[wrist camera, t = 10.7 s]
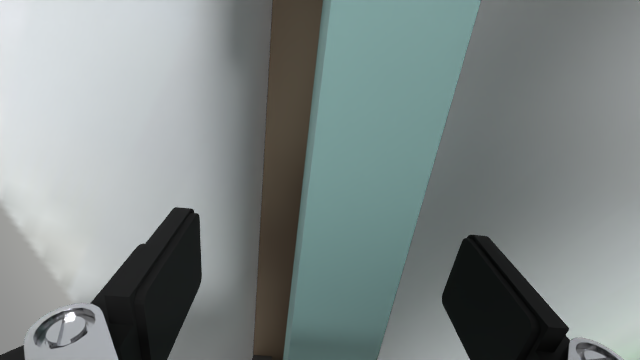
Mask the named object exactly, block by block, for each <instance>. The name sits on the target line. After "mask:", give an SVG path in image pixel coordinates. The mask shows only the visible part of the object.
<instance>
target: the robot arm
mask: <svg viewBox="0 0 640 360" xmlns="http://www.w3.org/2000/svg"><path fill="white" fill-rule="evenodd" d="M201 277H202V273H201V246H200V219H199V214H197V213H194V210H193V209H189V208H178V207H175V208H174V209H173V210H172V211H171V212H170V214H169V215H168V216H167V217H166V219H165V220H164V221H163V222H162V224H161V225H160V226H159V227H158V229H157V230H156V231H155V232H154V234H153V235H152V236H151V237H150V239H149V240H148V241H147V242H146V244H140V245H139V246H138V247H137V248H136V249H135V250H134V251H133V253H132V254H131V255H130V256H129V257H128V259H127V260H126V261H125V262H124V263H123V265H122V266H121V267H120V268H119V270H118V271H117V272H116V273H115V274H114V276H113V277H112V278H111V279H110V280H109V282H108V283H107V284H106V285H105V286H104V288H103V289H102V290H101V291H100V293H99V294H98V295H97V296H96V297H95V299H94V300H93V301H92V302H91V303H90V304H88V303H77V304H71V305H67V306H63V307H60V308H58V309H56V310H54V311H51V312H49V313H48V314H46V315H45V316H43V317H41V318H40V319H39V320H38V321H36V322H35V323H34V324H33V325H32V326H31V327H30V329H29V330H28V332H27V333H26V335H25V339H24V345H23V346H21V347H18V348H16V349H14V350H11V351H9V352H7V353H5V354H2V355H0V360H167V358H168V356H169V354H170V352H171V349H172V347H173V345H174V343H175V340H176V338H177V336H178V334H179V331H180V329H181V327H182V325H183V322H184V320H185V318H186V316H187V313H188V311H189V309H190V307H191V304H192V302H193V300H194V298H195V295H196V293H197V291H198V289H199V286H200V283H201ZM442 302H443V306H444V308H445V310H446V312H447V314H448V316H449V318H450V320H451V322H452V324H453V326H454V328H455V330H456V332H457V334H458V336H459V338H460V340H461V342H462V344H463V346H464V348H465V350H466V352H467V354H468V356H469V358H470V360H624V359H622V358H621V357H620V356H619V355H618V354H616V353H615V352H614V351H612V350H611V349H609V348H607V347H606V346H604V345H602V344H600V343H598V342H595V341H593V340H590V339H586V338H574V339H572V340H569V339H568V338H567V336H566V333H567V332H568V330H569V328H568V327H567V325H566V324H565V323H564V322H563V321H562V320H561V319H560V318H559V316H558V315H557V314H556V313H555V312H554V311H553V310H552V308H551V307H550V306H549V305H548V304H547V303H546V302H545V301H544V299H543V298H542V297H541V296H540V295H539V294H538V293H537V292H536V290H535V289H534V288H533V287H532V286H531V285H530V284H529V282H528V281H527V280H526V279H525V278H524V277H523V276H522V275H521V273H520V272H519V271H518V270H517V269H516V268H515V267H514V265H513V264H512V263H511V262H510V261H509V260H508V259H507V258H506V256H505V255H504V254H503V253H502V252H501V251H500V250H499V248H498V247H497V246H496V245H495V244H494V243H493V242H492V241H491V239H490V238H489V237H487V236H479V235H469V236H468V237H467V238H465V239H463V241H462V243H461V246H460V248H459V251H458V254H457V256H456V259H455V262H454V265H453V267H452V270H451V273H450V275H449V278H448V281H447V284H446V286H445V289H444V292H443V295H442Z"/></svg>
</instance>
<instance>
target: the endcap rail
mask: <svg viewBox="0 0 640 360" xmlns="http://www.w3.org/2000/svg"><path fill="white" fill-rule="evenodd" d="M322 4H323V0H273V4H272V22H271V40H270V59H269V77H268V95H267V113H266V131H265V149H264V168H263V186H262V204H261V222H260V240H259V258H258V277H257V295H256V313H255V331H254V349H253V359H252V360H283V354H284V345H285V336H286V327H287V318H288V309H289V301H290V292H291V283H292V274H293V265H294V256H295V247H296V238H297V229H298V220H299V211H300V202H301V193H302V184H303V175H304V166H305V157H306V148H307V139H308V130H309V121H310V112H311V103H312V94H313V85H314V76H315V67H316V58H317V49H318V40H319V31H320V22H321V13H322Z"/></svg>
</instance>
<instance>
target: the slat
mask: <svg viewBox="0 0 640 360" xmlns="http://www.w3.org/2000/svg"><path fill="white" fill-rule="evenodd" d="M480 3H481V0H323V4H322V13H321V22H320V31H319V40H318V49H317V58H316V67H315V76H314V85H313V94H312V103H311V112H310V121H309V130H308V139H307V148H306V157H305V166H304V175H303V184H302V193H301V202H300V211H299V220H298V229H297V238H296V247H295V256H294V265H293V274H292V283H291V292H290V301H289V309H288V318H287V327H286V336H285V345H284V354H283V360H377V358H378V354H379V351H380V347H381V344H382V340H383V337H384V333H385V330H386V327H387V323H388V320H389V316H390V313H391V309H392V306H393V302H394V299H395V296H396V292H397V289H398V285H399V282H400V278H401V275H402V271H403V268H404V265H405V261H406V258H407V254H408V251H409V247H410V244H411V240H412V237H413V233H414V230H415V227H416V223H417V220H418V216H419V213H420V209H421V206H422V202H423V199H424V196H425V192H426V189H427V185H428V182H429V178H430V175H431V171H432V168H433V165H434V161H435V158H436V154H437V151H438V147H439V144H440V140H441V137H442V134H443V130H444V127H445V123H446V120H447V116H448V113H449V109H450V106H451V102H452V99H453V96H454V92H455V89H456V85H457V82H458V78H459V75H460V71H461V68H462V65H463V61H464V58H465V54H466V51H467V47H468V44H469V40H470V37H471V34H472V30H473V27H474V23H475V20H476V16H477V13H478V9H479V6H480Z"/></svg>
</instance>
